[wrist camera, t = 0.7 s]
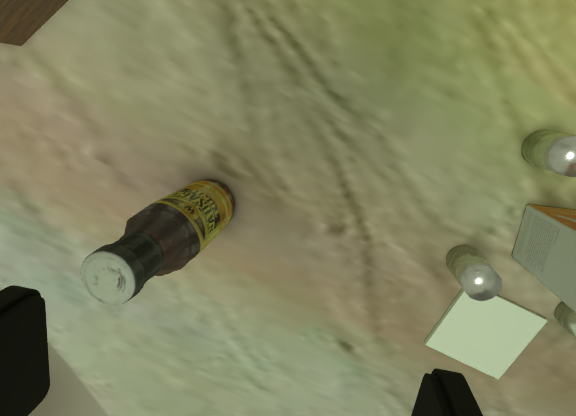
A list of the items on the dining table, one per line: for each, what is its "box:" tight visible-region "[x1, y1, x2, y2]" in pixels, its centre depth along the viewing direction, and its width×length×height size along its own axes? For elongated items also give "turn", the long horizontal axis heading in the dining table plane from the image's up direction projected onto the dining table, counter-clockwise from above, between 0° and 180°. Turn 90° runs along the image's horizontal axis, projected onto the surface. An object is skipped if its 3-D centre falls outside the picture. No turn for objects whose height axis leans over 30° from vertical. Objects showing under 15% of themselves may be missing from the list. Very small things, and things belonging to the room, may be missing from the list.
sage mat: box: [424, 288, 548, 379], centre depth 43 cm, size 10×10×1 cm
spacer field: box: [446, 130, 576, 338], centre depth 37 cm, size 18×18×6 cm
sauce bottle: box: [81, 180, 234, 305], centre depth 34 cm, size 7×6×20 cm
